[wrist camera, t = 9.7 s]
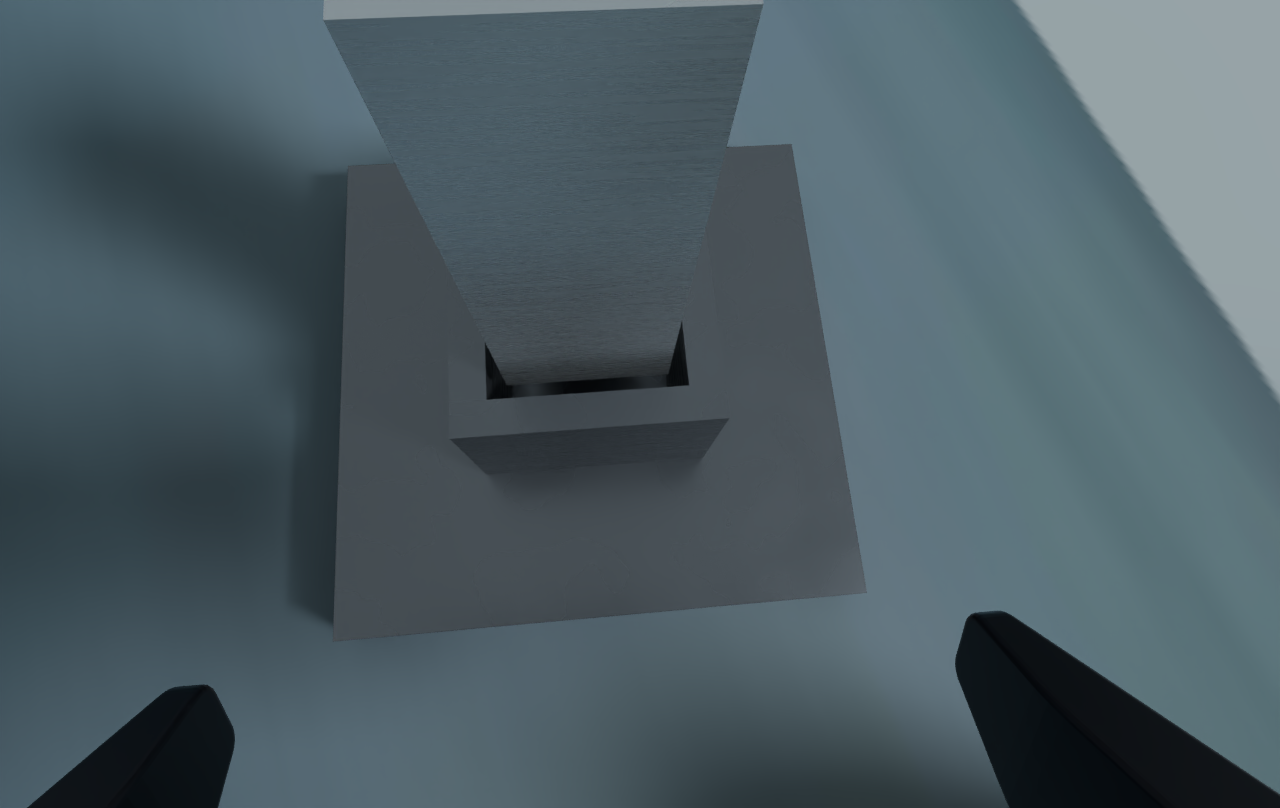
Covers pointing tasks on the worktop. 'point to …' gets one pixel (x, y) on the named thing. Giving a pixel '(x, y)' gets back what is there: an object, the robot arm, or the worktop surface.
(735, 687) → the worktop surface
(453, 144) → the block
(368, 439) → the stand
